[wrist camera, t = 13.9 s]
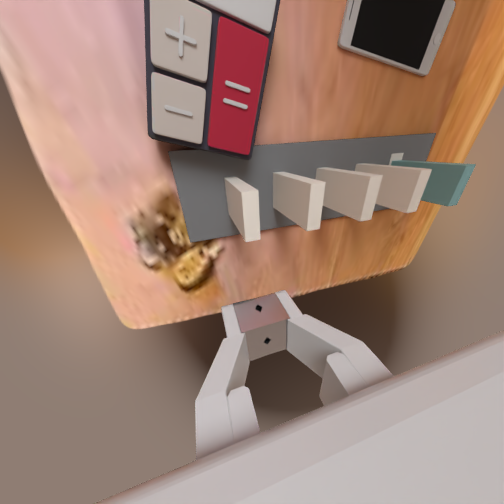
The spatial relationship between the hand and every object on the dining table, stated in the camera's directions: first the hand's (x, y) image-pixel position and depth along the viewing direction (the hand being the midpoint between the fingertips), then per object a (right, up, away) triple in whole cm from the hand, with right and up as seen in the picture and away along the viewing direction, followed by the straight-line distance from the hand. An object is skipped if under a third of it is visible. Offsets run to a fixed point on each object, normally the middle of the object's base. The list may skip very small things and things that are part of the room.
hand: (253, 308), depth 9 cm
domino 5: (+24, +16, +24) cm, 37 cm away
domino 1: (-3, +10, +18) cm, 21 cm away
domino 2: (+4, +12, +20) cm, 23 cm away
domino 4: (+17, +14, +23) cm, 32 cm away
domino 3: (+11, +13, +21) cm, 27 cm away
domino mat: (+10, +13, +22) cm, 28 cm away
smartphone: (+18, +31, +15) cm, 39 cm away
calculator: (-5, +22, +12) cm, 25 cm away
